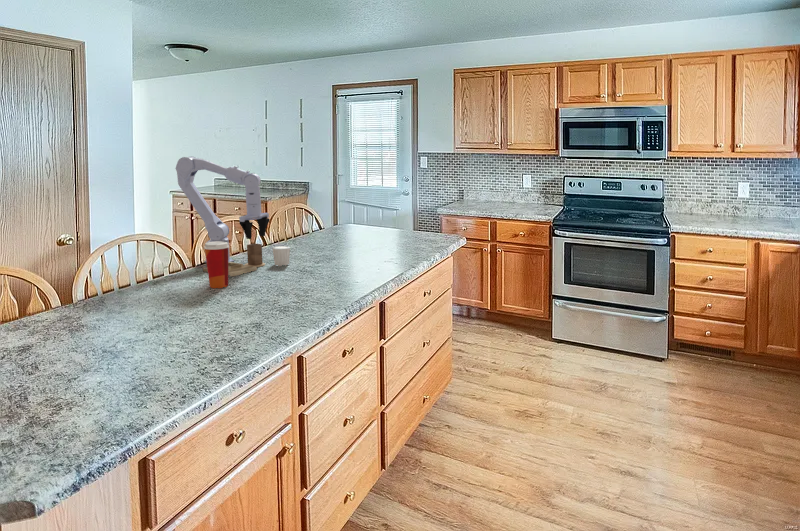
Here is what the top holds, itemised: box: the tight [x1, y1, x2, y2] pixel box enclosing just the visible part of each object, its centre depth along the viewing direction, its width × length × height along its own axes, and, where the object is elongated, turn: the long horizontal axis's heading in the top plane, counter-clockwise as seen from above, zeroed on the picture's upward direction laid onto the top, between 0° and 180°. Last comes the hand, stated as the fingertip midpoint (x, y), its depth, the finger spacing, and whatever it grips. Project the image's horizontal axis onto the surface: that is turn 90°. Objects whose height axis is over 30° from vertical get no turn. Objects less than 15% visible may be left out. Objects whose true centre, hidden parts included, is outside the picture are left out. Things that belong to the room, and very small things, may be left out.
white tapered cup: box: [272, 245, 291, 267], centre depth 229 cm, size 7×7×7 cm
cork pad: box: [243, 262, 266, 268], centre depth 228 cm, size 8×8×1 cm
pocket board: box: [202, 261, 258, 277], centre depth 218 cm, size 16×12×2 cm
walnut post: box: [246, 243, 264, 266], centre depth 227 cm, size 4×4×8 cm
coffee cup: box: [203, 241, 230, 289], centre depth 193 cm, size 8×8×15 cm
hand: (255, 237), depth 232 cm, fingers open, 7 cm apart
